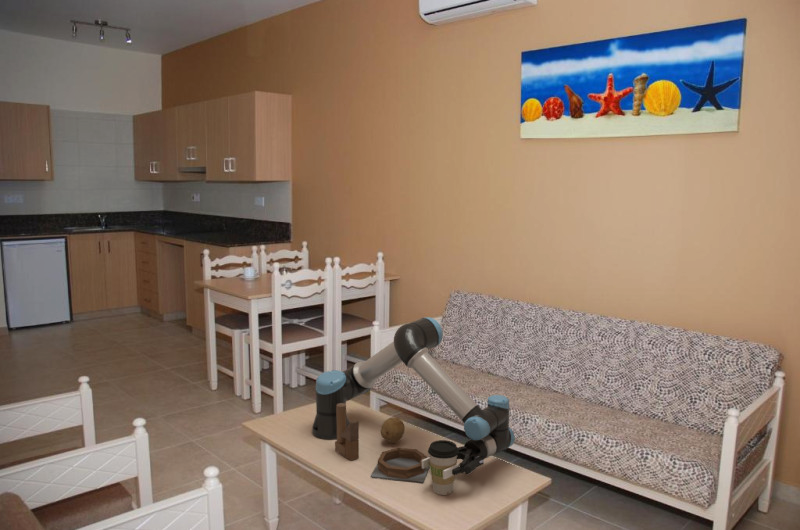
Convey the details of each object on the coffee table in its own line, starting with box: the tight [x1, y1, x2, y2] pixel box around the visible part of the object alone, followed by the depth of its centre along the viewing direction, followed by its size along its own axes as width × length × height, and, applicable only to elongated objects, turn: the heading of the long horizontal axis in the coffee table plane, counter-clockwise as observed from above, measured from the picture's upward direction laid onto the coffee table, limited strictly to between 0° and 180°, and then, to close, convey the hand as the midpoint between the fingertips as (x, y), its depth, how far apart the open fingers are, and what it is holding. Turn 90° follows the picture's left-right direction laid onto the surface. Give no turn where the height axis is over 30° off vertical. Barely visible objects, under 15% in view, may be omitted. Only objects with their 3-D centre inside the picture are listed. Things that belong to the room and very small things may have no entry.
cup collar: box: [370, 447, 430, 484], centre depth 210 cm, size 18×18×4 cm
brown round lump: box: [380, 417, 406, 444], centre depth 230 cm, size 9×9×10 cm
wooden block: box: [334, 403, 360, 461], centre depth 220 cm, size 4×11×18 cm, turn 38°
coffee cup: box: [427, 439, 459, 496], centre depth 194 cm, size 10×10×15 cm
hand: (433, 469), depth 191 cm, fingers closed on coffee cup, 9 cm apart
